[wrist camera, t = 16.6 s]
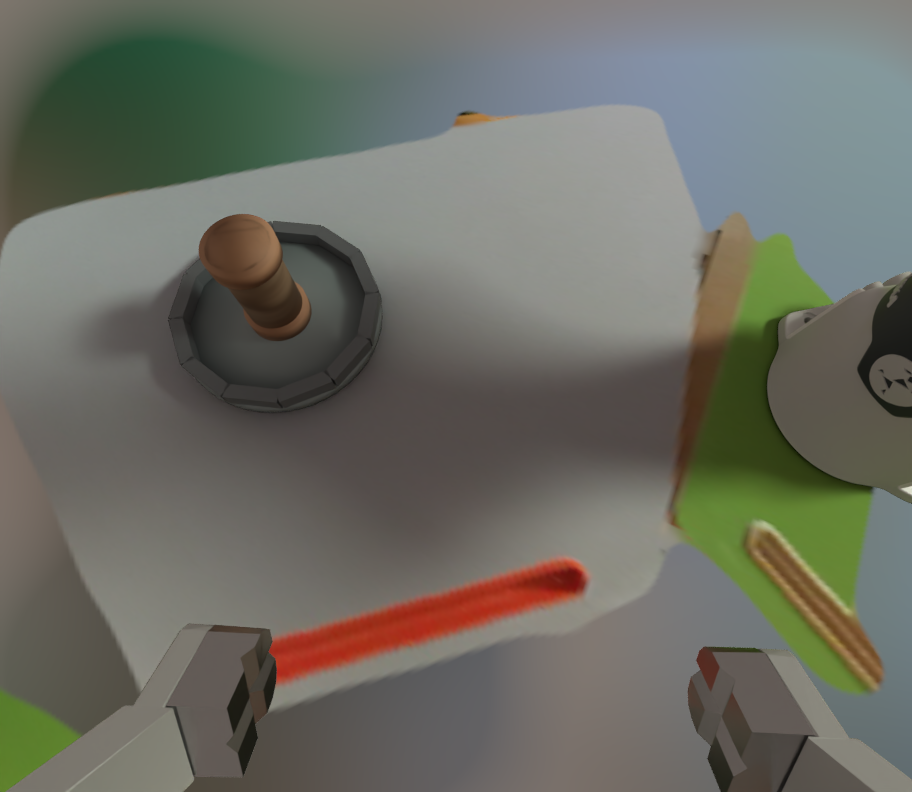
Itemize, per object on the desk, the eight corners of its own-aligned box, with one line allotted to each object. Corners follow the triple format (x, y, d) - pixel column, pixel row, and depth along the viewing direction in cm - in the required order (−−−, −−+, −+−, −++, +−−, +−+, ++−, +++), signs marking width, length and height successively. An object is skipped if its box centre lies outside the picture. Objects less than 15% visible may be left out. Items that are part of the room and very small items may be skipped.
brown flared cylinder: (301, 279, 48) (263, 204, 39) (319, 327, 46) (285, 261, 37) (243, 299, 48) (190, 228, 38) (259, 350, 46) (209, 288, 36)
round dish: (344, 214, 52) (339, 196, 50) (411, 365, 46) (409, 353, 44) (164, 275, 50) (149, 260, 47) (211, 444, 44) (197, 436, 41)
